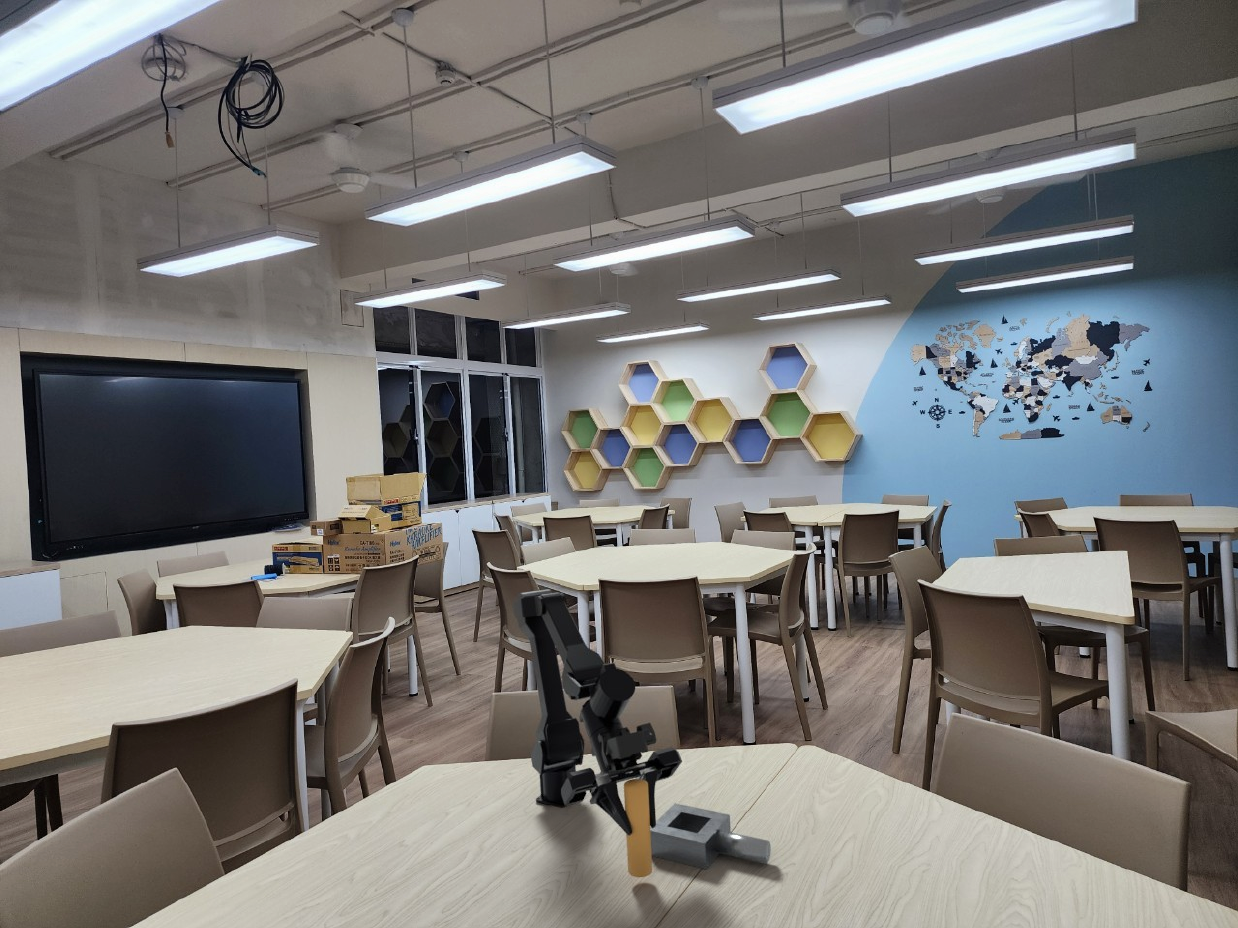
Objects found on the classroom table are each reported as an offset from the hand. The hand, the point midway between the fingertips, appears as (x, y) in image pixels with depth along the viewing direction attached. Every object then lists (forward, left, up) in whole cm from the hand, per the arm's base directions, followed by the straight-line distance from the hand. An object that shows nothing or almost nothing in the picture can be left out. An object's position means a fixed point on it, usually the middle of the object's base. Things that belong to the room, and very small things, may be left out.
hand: (642, 830), depth 112 cm
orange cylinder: (-1, +1, -7) cm, 7 cm away
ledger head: (+5, +13, -8) cm, 16 cm away
